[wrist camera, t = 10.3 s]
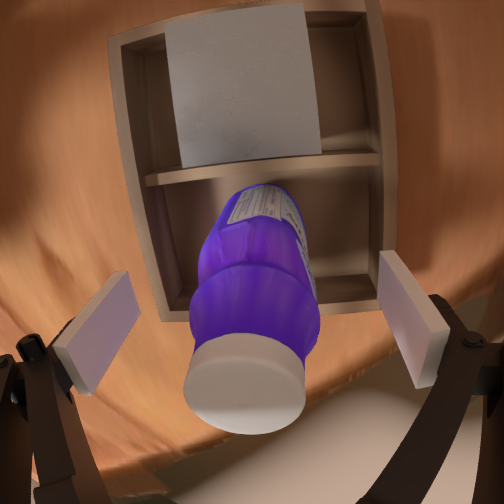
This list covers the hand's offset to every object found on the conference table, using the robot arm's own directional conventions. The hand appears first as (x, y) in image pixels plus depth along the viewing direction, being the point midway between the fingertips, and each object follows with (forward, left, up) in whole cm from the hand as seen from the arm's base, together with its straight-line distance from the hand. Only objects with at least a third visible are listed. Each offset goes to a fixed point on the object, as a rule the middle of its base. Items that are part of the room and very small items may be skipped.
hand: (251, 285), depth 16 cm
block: (0, +10, -10) cm, 14 cm away
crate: (0, +5, -11) cm, 12 cm away
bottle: (0, 0, -10) cm, 10 cm away
